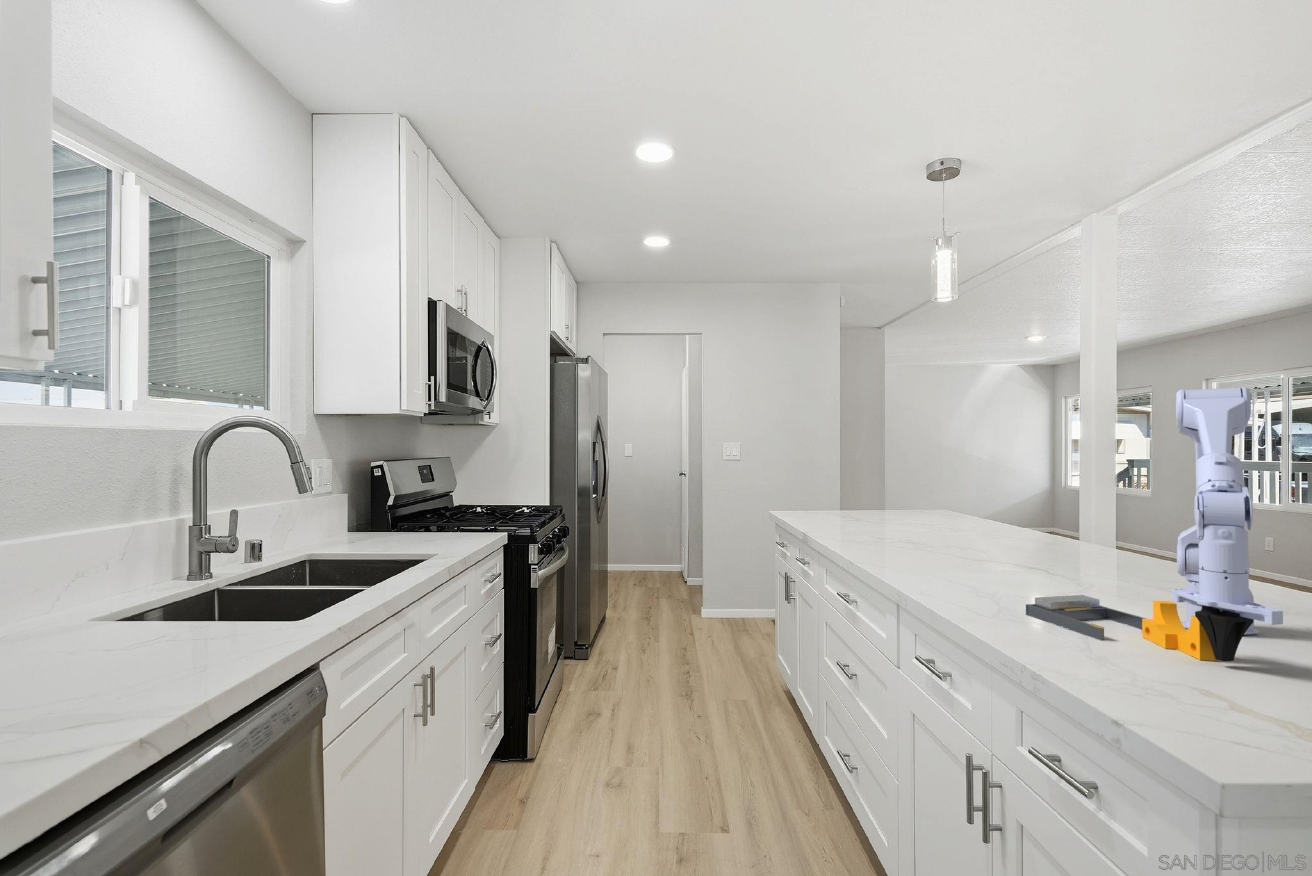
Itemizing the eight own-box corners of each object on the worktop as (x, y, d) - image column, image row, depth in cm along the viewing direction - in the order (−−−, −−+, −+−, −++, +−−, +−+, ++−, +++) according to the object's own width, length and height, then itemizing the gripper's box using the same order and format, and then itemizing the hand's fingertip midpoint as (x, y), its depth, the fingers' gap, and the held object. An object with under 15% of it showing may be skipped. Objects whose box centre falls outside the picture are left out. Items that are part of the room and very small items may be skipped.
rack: (1084, 610, 132) (1084, 593, 132) (1166, 635, 115) (1166, 615, 115) (1025, 614, 129) (1025, 596, 129) (1101, 640, 112) (1101, 619, 112)
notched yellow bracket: (1142, 637, 114) (1141, 600, 114) (1169, 638, 113) (1169, 601, 113) (1187, 659, 102) (1186, 618, 102) (1218, 660, 101) (1217, 619, 101)
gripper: (1156, 562, 105) (1157, 646, 105) (1254, 581, 91) (1255, 678, 91) (1191, 561, 106) (1192, 644, 106) (1294, 579, 92) (1295, 674, 92)
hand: (1224, 659), depth 99 cm, fingers closed
